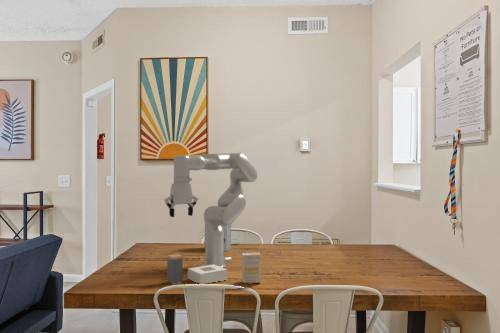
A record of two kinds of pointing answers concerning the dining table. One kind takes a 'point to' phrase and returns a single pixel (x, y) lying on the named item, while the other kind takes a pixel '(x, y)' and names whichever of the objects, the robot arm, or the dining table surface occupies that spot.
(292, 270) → the dining table surface
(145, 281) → the dining table surface
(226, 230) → the hard drive box
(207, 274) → the socket block
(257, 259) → the supplement box
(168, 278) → the grey cylinder
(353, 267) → the dining table surface
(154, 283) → the dining table surface
